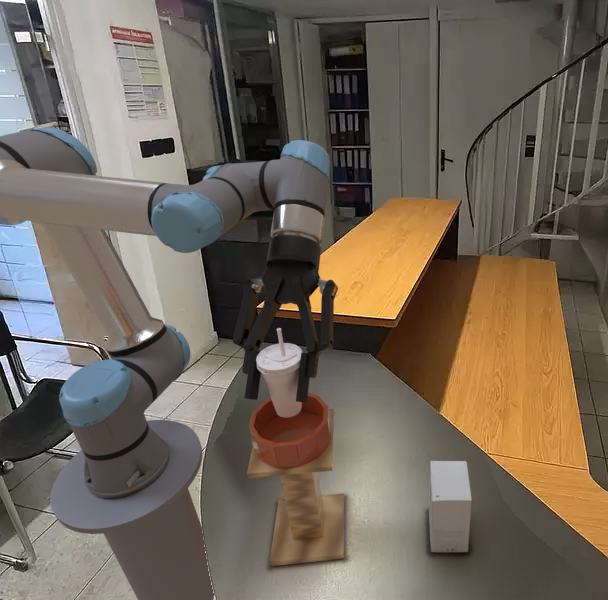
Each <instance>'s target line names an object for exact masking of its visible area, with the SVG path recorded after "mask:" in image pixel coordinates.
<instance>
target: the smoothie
mask: <svg viewBox="0 0 608 600" xmlns="http://www.w3.org/2000/svg"><path fill="white" fill-rule="evenodd" d="M276 333H277V338H278V343H275V344H270V345H269V346H266V347H265V348H263V349H261V350H260V353H259V354H258V355H257V358H256V362H257V369H258V370H259V371H260V372H261V376H262V377H263V380H264V383H265V386H266V388H267V390H268V391H267V392H268V393H269V396H270V398H271V399H272V402H273V404H274V407H275V410H276V412H277V414H278V415H279V416H281V417H284V418H288V417H293V416H295V415H297V414H298V413H299V412H300V411H301V409H302V402H297V401H296V394H297V386H298V377H299V368H300V360H301V353H304V352H303V349H302V348H301V347H300V346H298V345H297V344H294V343H290V342H284V337H283V332H282V328H281V327H277V328H276Z"/></svg>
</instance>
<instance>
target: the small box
mask: <svg viewBox="0 0 608 600" xmlns="http://www.w3.org/2000/svg"><path fill="white" fill-rule="evenodd" d="M469 473H470V472H469V467H468V461H467V460H430V462H429V497H428V498H429V501H428V522H429V523H428V524H429V541H430V543H429V544H430V553H468V552H469V545H470V531H471V530H470V529H471V519H472V518H471V517H472V504H473V497H472V488H471V481H470V474H469Z"/></svg>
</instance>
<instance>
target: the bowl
mask: <svg viewBox="0 0 608 600" xmlns="http://www.w3.org/2000/svg"><path fill="white" fill-rule="evenodd" d="M329 409H330V408H329V406H328V404H327V403H326V402H325V401H324V400H323V399H322V398H321V396H319V395H317V394H314V393H311V392H308V397H307V403H302V409H301V411H300V412H299V413H298V414H297V415H295V416H293V417H288V418H284V417H281V416H279V415H278V414H277V412H276V410H275V407H274V404H273V402H272V399H271V397H269V398H267V399H265V400H263V402H262V403H261V404H260V405H258V406H257V407H256V408H255V409H254V410H253V411H252V413H251V417H250V421H249V425H248V431H249V435H250V439H251V444H252V448H253V447H254V448H255V450H256V453H257V456H258V457H259V458H260V459H261V460H262V461H263V462H264V463H266V464H268V465H270V466H273V467H277V468H293V467H298V466H302V465H304V464H307V463H309V462H311V461H313V460H314V459H316V458H317V457H318V456H320V455H321V454H322V453H323V452H324V450H325V449H326V448H327V446H328V444H329V441H330V437H331V431H330V426H331V424H330V416H329Z"/></svg>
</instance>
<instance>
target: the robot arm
mask: <svg viewBox="0 0 608 600" xmlns="http://www.w3.org/2000/svg"><path fill="white" fill-rule="evenodd" d="M330 164H331V159H330V155H329V153H328V152H327V151H326V150H325V148H324V147H322V146H321V145H320V144H319V143H315V142H313V141H309V140H304V139H303V140H302V139H297V140H291V141H290V142H289V143H286V144H285V145H284V146H283V148H282V151H281V153H280V158H279V159H271V160H266V161H254V162H253V161H252V162H240V163H239V162H238V163H233V162H227V163H224V164H221V165H214V166H211V167H209V168H208V169H207V170H206V172H205V175H204V176H203V178H202V180H201V181H198V182H196V183H194V184H181V183H180V184H179V183H169V182H168V183H167V182H160V181H152V180H141V179H134V178H133V179H131V178H123V177H112V176H104V175H97V173H98V167H97V163H96V161H95V159H94V156H93V155H92V153H91V151H89V149H88V148H87V147H86V146H85V145H84V144H83V142H81V141H80V140H79V139H78V138H77V137H75V136H74V135H72V134H69V133H68V132H67V131H65V130H63V129H59V128H56V127H39V128H37V127H36V128H30V129H23V130H21V131H16V132H13V133H8V134H4V135H0V225H2V226H16V225H17V226H18V225H21V224H23V223H25V222H33V223H35V224H38V225H40V226H41V227H42V228H43V229H44V231H45V233H46V234H47V237H48V238H49V240H50V241H51V244H52V245H53V247H54V248H55V250H56V252H57V253H58V255H59V256H60V258H61V260H62V261H63V263H64V265H65V266H66V268H67V270H68V271H69V273H70V275H71V276H72V278H73V280H74V281H75V283H76V285H77V286H78V288H79V290H80V292H81V294H82V295H83V297H84V298H85V300H86V302H87V304H88V305H89V307H90V308H91V310H92V312H93V313H94V315H95V317H96V318H97V320H98V322H99V323H100V325H101V327H102V329H103V330H104V332H105V333H106V335H107V339H106V341H105V344H104V348H105V351H106V352H107V354H108V356H109V357H110V359H103V360H102V359H101V360H98V361H94V362H92V363H91V364H90V365H85V366H82V367H81V368H79V369H78V370H76V371H75V372H73V373H72V374H71V375H70V376H69V377H68V378H67V379H66V380H65V382H64V383H63V385H62V386H61V387H60V391H59V395H58V397H59V404H60V407H61V409H62V410H61V411H62V415H63V417H64V420H66V422H67V424H68V425H69V426H70V429H71V431H72V433H73V435H74V437H75V438H76V442H77V443H78V445H79V448H80V450H82V451H83V453H84V481H85V484H86V486H87V488H88V490H89V491H90V493H91V494H92V495H94V496H96V497H98V498H101V499H118V498H123V497H127V496H130V495H132V494H135V493H137V492H139V491H141V490H143V489H144V488H146V487H148V486H149V485H150V484H152V483H153V482H154V481H155V480H156V479H158V478H159V476H160V475H161V474H162V473H163V472H164V470H165V469H166V467H167V465H168V462H169V450H168V448H167V445H166V443H165V442H164V440H163V439H162V438H160V437H159V436H158V435H157V434H156V433H155V432H154V431H153V430H152V429H151V428H150V427H149V426H148V423H147V421H148V420H147V418H146V415H145V412H146V411H147V409H148V408H149V407H150V406H151V405H152V404H153V403H154V402H155V401H156V400H157V399H158V398H159V397H160V396H161V395H162V394H163V393H164V392H165V391H166V390H167V389H168V388H169V387H170V386H171V385H172V384H173V383H174V382H175V381H177V380H178V379H179V378H180V377H181V375H182V373H183V372H184V370H186V368H187V367H188V365H189V364H190V361H191V348H190V344H189V343H188V340H187V338H186V337H185V336H184V334H183V333H182V332H181V331H177V328H176V327H175V326H173V325H170V324H167V323H164V321H163V320H162V319H159V318H156V317H152V315H151V313H150V312H149V310H148V307H147V306H146V304H145V302H144V301H143V298H142V297H141V295H140V292H139V291H138V289H137V287H136V286H135V284H134V282H133V280H132V278H131V276H130V274H129V273H128V271H127V269H126V266H124V263H123V261H122V259H121V257H120V255H119V253H118V252H117V250H116V248H115V246H114V245H113V243H112V241H111V239H110V236H109V235H108V234H107V232H106V231H109V232H110V231H111V232H117V233H126V234H135V235H143V236H151V237H157V238H158V240H159V241H160V242H161V243H162V244H163V245H164V246H165V247H169V248H170V249H172V250H173V252H177V253H181V254H190V253H191V254H192V253H195V252H197V251H200V250H201V249H203V248H205V247H208V246H210V245H211V244H213V243H214V242H216V241H217V240H218V239H219V238H220V237H221V236H223V235H224V234H225V233H227V232H228V231H229V230H231V229H232V228H233V227H235V226H237V225H238V224H240V223H241V222H242V221H244V220H245V219H246V218H248V217H249V216H251V215H252V214H253V213H256V212H257V213H258V212H266V211H273V217H272V222H271V227H270V237H271V239H270V240H269V244H268V250H267V258H266V267H265V270H264V272H263V273H262V275H261V276H258V277H254V278H251V277H249V276H246V277H244V278H243V279H242V286H243V287H242V288H243V296H242V299H241V304H240V307H239V312H238V316H237V320H236V324H235V329H234V333H233V338H232V343H233V344H234V345H236V346H239V347H241V348H242V349H243V350H244V356H243V361H242V362H243V363H242V373H243V374H244V375H247V377H246V378H247V379H246V384H245V391H244V399H247V400H255V401H258V398H259V390H260V384H261V376H262V372H260V371H259V370H258V369H257V362H256V358H257V355H258V354H259V353H260V352H261V349H260V348H261V346H262V344H263V343H264V340H265V337H266V336H267V334H268V332H269V329H270V328H271V326H272V323H273V321H274V319H275V317H276V315H277V313H278V311H279V310H280V309H281V307H282V305H288V304H289V305H290V304H293V305H296V306H297V309H298V312H299V313H298V314H299V317H300V323H301V328H302V331H303V336H304V341H305V345H306V348H305V350H306V351H307V352H303V353H301V360H300V368H299V377H298V386H297V394H296V401H297V402H302V403H307V397H308V393H309V387H310V379H316V378H317V375H318V368H319V358H320V355H322V354H323V353H326V352H331V351H332V350H333V349H334V318H335V317H334V314H335V310H334V309H335V299H336V296H337V293H338V290H339V286H338V284H336V282H335V281H334V280H333V279H328V280H326V279H323V278H321V277H320V274H319V273H320V272H319V270H320V263H321V253H322V247H321V244H322V243H323V233H324V227H325V217H326V216H325V215H326V213H325V212H326V206H327V196H328V190H329V183H330V181H331V179H330V170H331V169H330V168H331V167H330V166H331V165H330ZM263 286H264V287H265V289H266V290H267V293H266V296H265V298H264V299H263V305H262V307H261V309H260V312H259V314H258V316H257V318H256V319H255V322H254V318H255V314H256V309H257V306H258V301H259V293H261V292H262V288H263ZM318 288H319V293H320V294H321V299H320V300H321V302H320V303H321V305H320V306H321V307H320V341H319V338H318V334H317V329H316V325H315V320H314V316H313V312H312V304H311V303H312V302H311V300H310V297H311V296H312V295H313V294H314V293H315V292H316V290H317V289H318ZM253 323H254V324H253Z"/></svg>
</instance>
